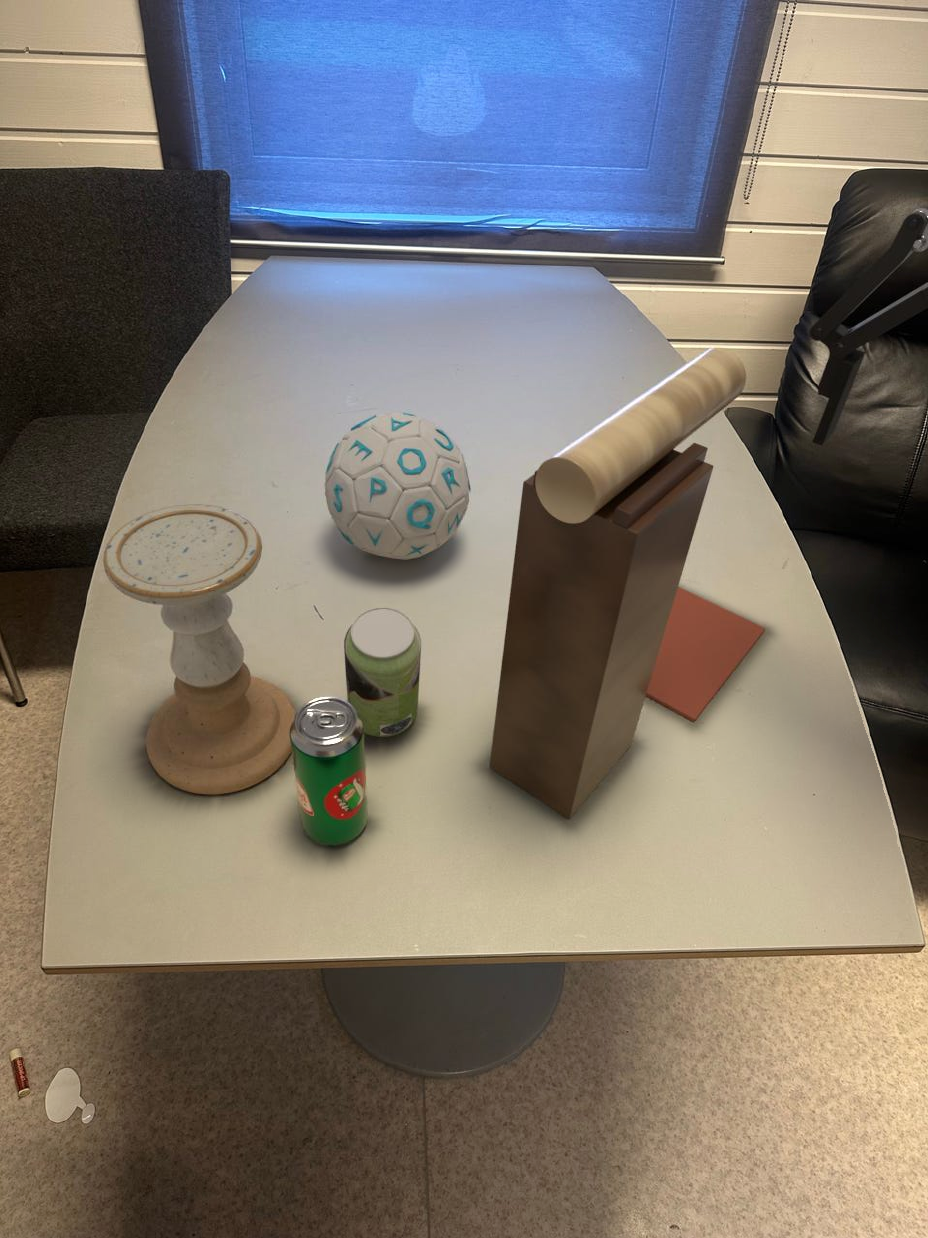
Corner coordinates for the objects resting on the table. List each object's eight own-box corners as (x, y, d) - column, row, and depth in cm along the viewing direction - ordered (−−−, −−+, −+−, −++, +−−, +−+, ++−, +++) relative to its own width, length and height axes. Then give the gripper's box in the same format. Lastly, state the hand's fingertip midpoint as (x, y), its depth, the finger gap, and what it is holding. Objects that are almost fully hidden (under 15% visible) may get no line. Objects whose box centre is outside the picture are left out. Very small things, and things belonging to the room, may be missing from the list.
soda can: (303, 796, 66) (289, 693, 58) (367, 792, 66) (362, 690, 58) (300, 852, 62) (286, 750, 54) (368, 847, 63) (363, 746, 55)
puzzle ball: (306, 570, 87) (295, 444, 77) (358, 495, 98) (354, 376, 88) (444, 601, 84) (451, 475, 74) (481, 520, 95) (491, 401, 85)
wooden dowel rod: (686, 392, 60) (700, 339, 57) (737, 411, 58) (753, 357, 56) (531, 507, 48) (539, 446, 45) (589, 534, 46) (601, 473, 44)
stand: (631, 745, 71) (718, 451, 52) (569, 820, 65) (641, 519, 46) (554, 700, 75) (609, 408, 56) (488, 767, 69) (524, 466, 49)
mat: (764, 631, 83) (765, 628, 83) (693, 722, 74) (694, 719, 74) (659, 580, 89) (660, 577, 88) (580, 659, 79) (581, 656, 79)
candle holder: (306, 685, 75) (286, 498, 61) (288, 798, 65) (259, 607, 52) (168, 682, 74) (117, 492, 61) (130, 795, 65) (59, 601, 51)
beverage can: (407, 684, 75) (408, 583, 67) (430, 745, 70) (434, 644, 62) (339, 698, 74) (332, 596, 66) (357, 761, 69) (352, 659, 60)
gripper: (832, 111, 49) (734, 430, 63) (1355, 207, 39) (1097, 563, 53) (870, 96, 54) (771, 396, 68) (1346, 178, 43) (1111, 512, 58)
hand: (913, 469), depth 60 cm, fingers open, 13 cm apart
